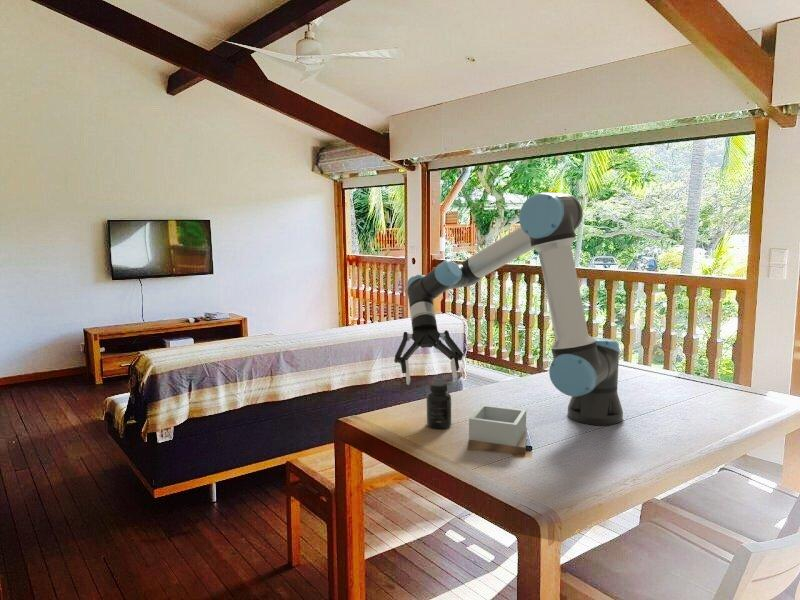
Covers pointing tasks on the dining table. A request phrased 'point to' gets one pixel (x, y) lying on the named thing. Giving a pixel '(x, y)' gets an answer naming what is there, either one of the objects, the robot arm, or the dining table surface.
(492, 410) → the grey square open box
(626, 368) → the dining table surface
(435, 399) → the supplement bottle
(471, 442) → the walnut plinth
